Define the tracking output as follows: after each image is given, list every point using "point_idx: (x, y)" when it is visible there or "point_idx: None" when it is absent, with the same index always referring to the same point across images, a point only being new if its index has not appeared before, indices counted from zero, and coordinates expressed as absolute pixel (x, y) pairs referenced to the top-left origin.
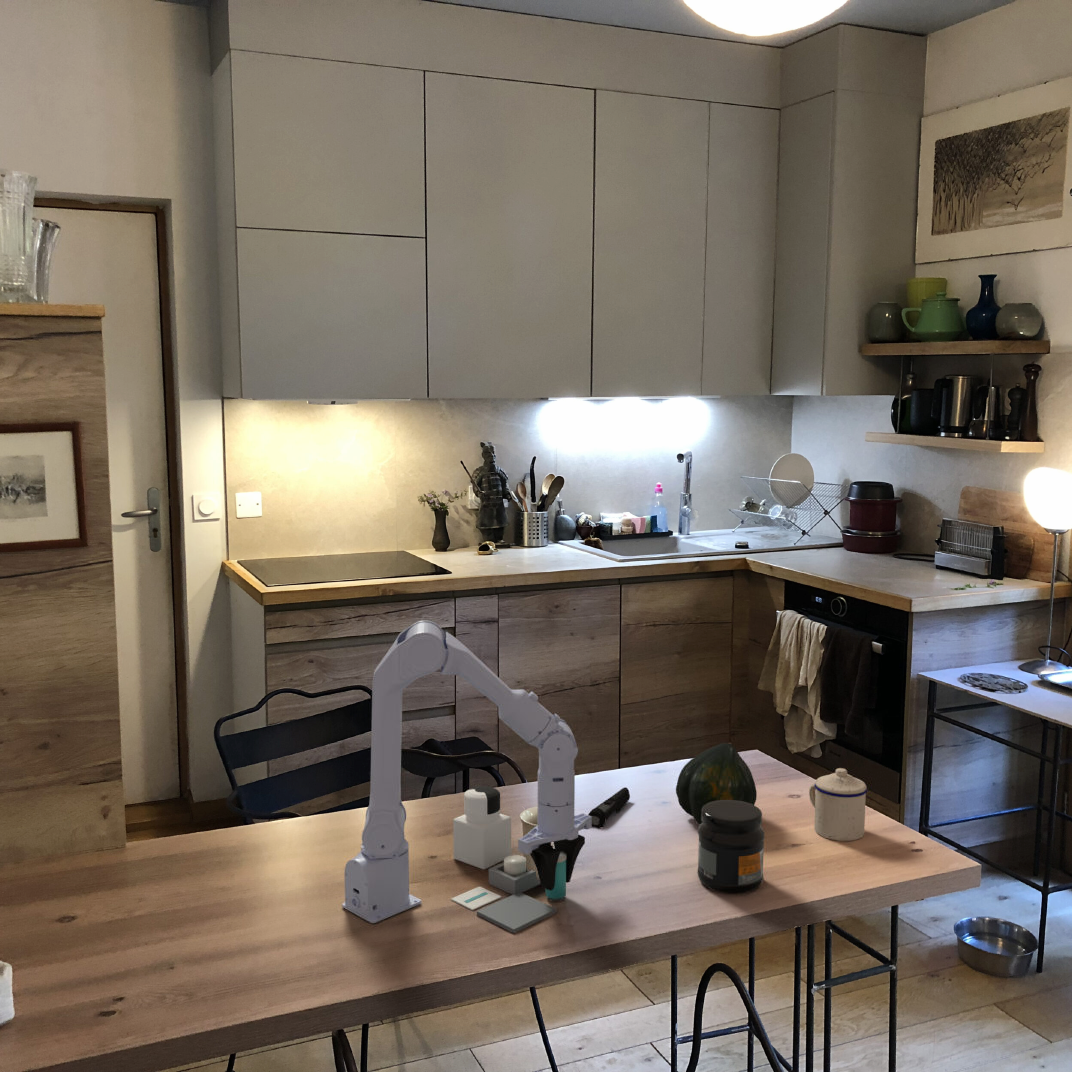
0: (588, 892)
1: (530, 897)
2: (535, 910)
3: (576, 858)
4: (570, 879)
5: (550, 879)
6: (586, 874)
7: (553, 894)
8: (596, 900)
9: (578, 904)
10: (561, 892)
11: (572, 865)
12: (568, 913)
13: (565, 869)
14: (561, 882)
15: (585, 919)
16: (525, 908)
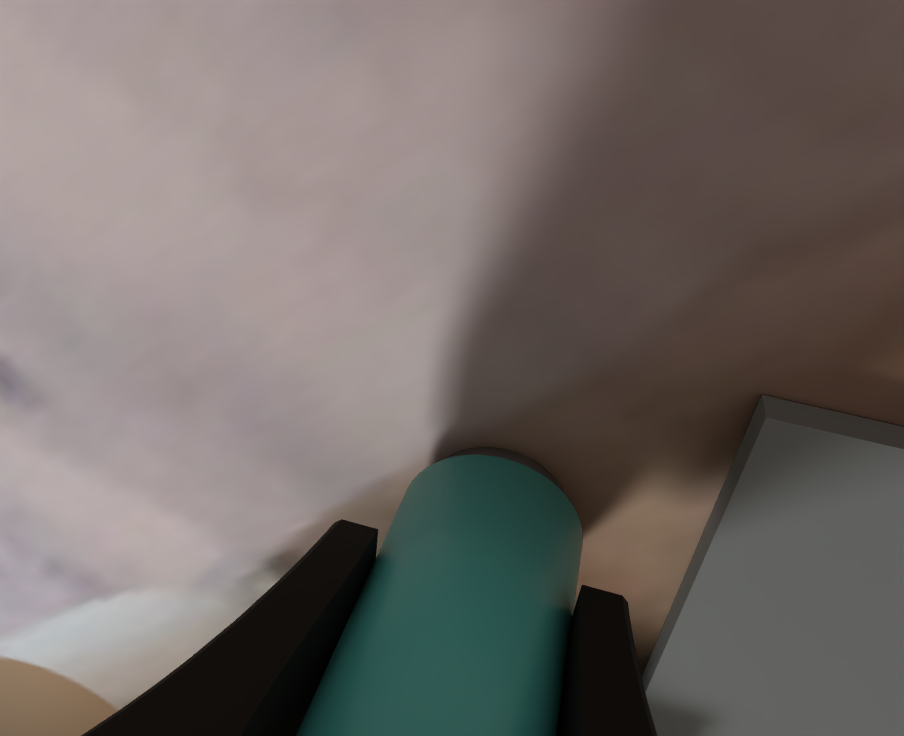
0: (238, 331)
1: (666, 655)
2: (900, 557)
3: (151, 696)
4: (330, 531)
5: (646, 714)
6: (50, 465)
7: (575, 542)
8: (301, 194)
9: (481, 299)
10: (516, 501)
11: (258, 650)
12: (713, 291)
13: (381, 676)
14: (496, 582)
15: (760, 52)
16: (900, 632)
